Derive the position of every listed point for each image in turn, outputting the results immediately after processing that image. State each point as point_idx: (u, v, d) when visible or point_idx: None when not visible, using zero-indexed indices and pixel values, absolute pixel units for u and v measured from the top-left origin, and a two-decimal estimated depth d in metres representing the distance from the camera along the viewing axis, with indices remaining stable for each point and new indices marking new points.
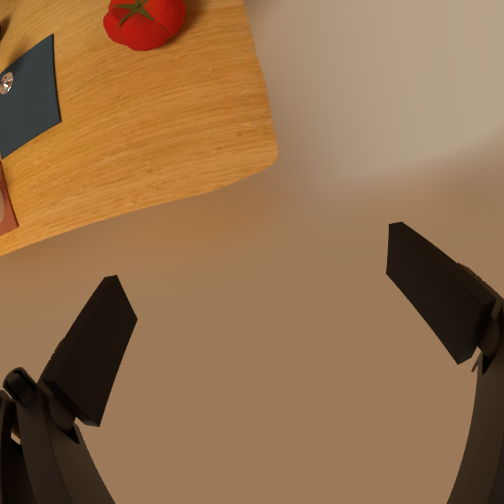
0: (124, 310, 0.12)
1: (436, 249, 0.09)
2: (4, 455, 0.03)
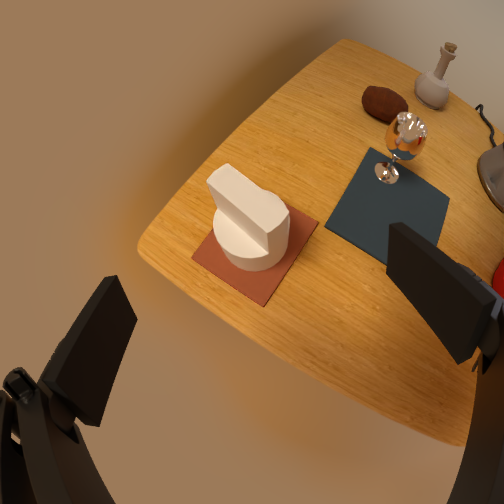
0: (124, 310, 0.12)
1: (436, 249, 0.09)
2: (4, 455, 0.03)
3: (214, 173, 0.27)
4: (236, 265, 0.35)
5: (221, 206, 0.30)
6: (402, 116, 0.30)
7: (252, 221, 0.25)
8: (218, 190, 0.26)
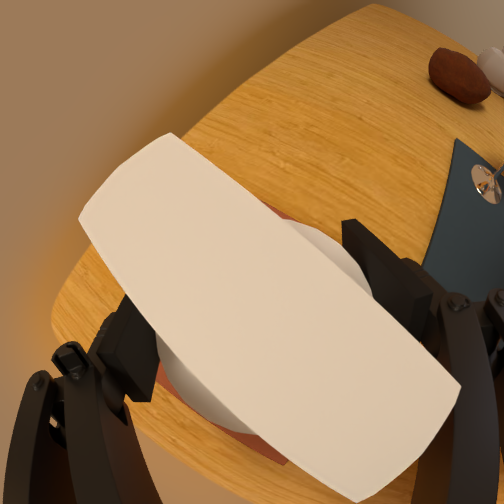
0: None
1: (380, 244, 0.10)
2: (38, 443, 0.04)
3: (112, 180, 0.06)
4: None
5: None
6: None
7: None
8: (114, 268, 0.05)
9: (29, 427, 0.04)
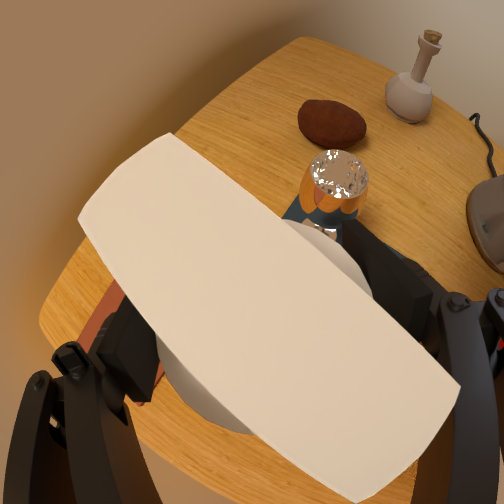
0: None
1: (380, 244, 0.10)
2: (38, 443, 0.04)
3: (111, 180, 0.06)
4: None
5: None
6: (328, 156, 0.21)
7: None
8: (114, 268, 0.05)
9: (29, 427, 0.04)
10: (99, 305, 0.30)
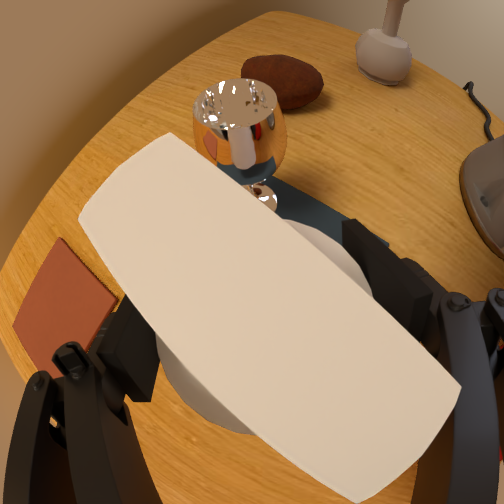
0: None
1: (380, 244, 0.10)
2: (38, 443, 0.04)
3: (112, 180, 0.06)
4: None
5: None
6: (234, 91, 0.15)
7: None
8: (114, 268, 0.05)
9: (29, 427, 0.04)
10: (30, 288, 0.24)
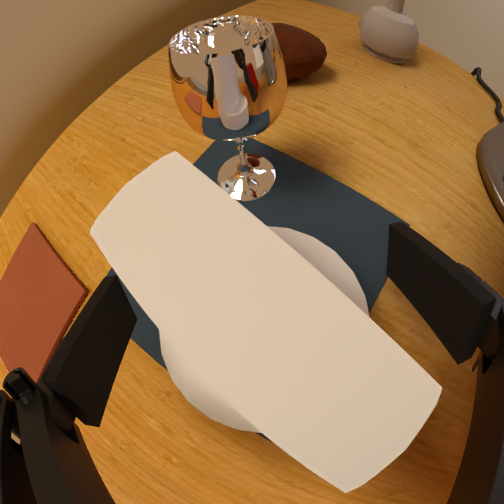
0: (124, 310, 0.12)
1: (436, 249, 0.09)
2: (4, 455, 0.03)
3: (121, 196, 0.06)
4: None
5: None
6: (222, 33, 0.11)
7: None
8: (126, 279, 0.05)
9: None
10: (2, 279, 0.19)
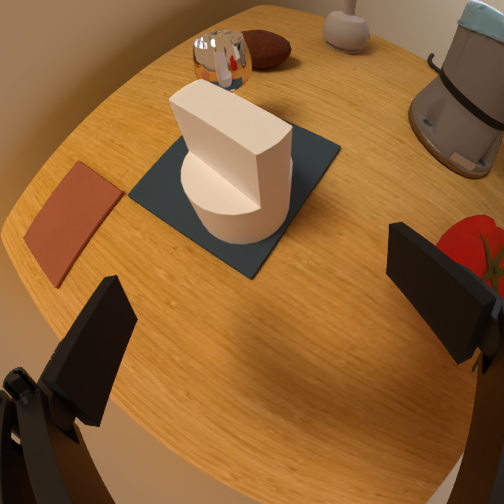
0: (124, 310, 0.12)
1: (436, 249, 0.09)
2: (4, 455, 0.03)
3: (181, 90, 0.16)
4: (215, 235, 0.25)
5: (192, 142, 0.19)
6: (219, 39, 0.21)
7: (232, 141, 0.14)
8: (183, 107, 0.15)
9: None
10: (46, 202, 0.29)
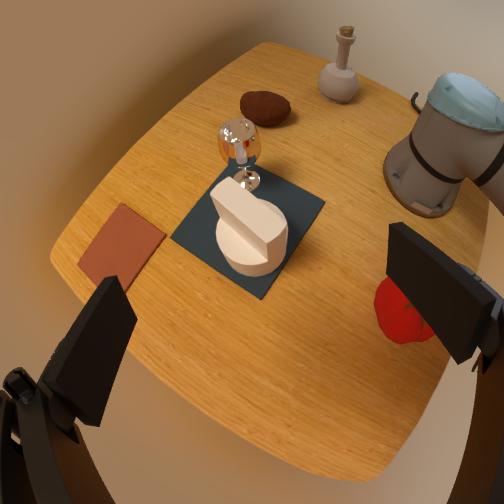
0: (124, 310, 0.12)
1: (436, 249, 0.09)
2: (4, 455, 0.03)
3: (217, 186, 0.29)
4: (237, 271, 0.38)
5: (223, 216, 0.32)
6: (236, 123, 0.34)
7: (253, 232, 0.27)
8: (221, 202, 0.28)
9: None
10: (96, 236, 0.42)
